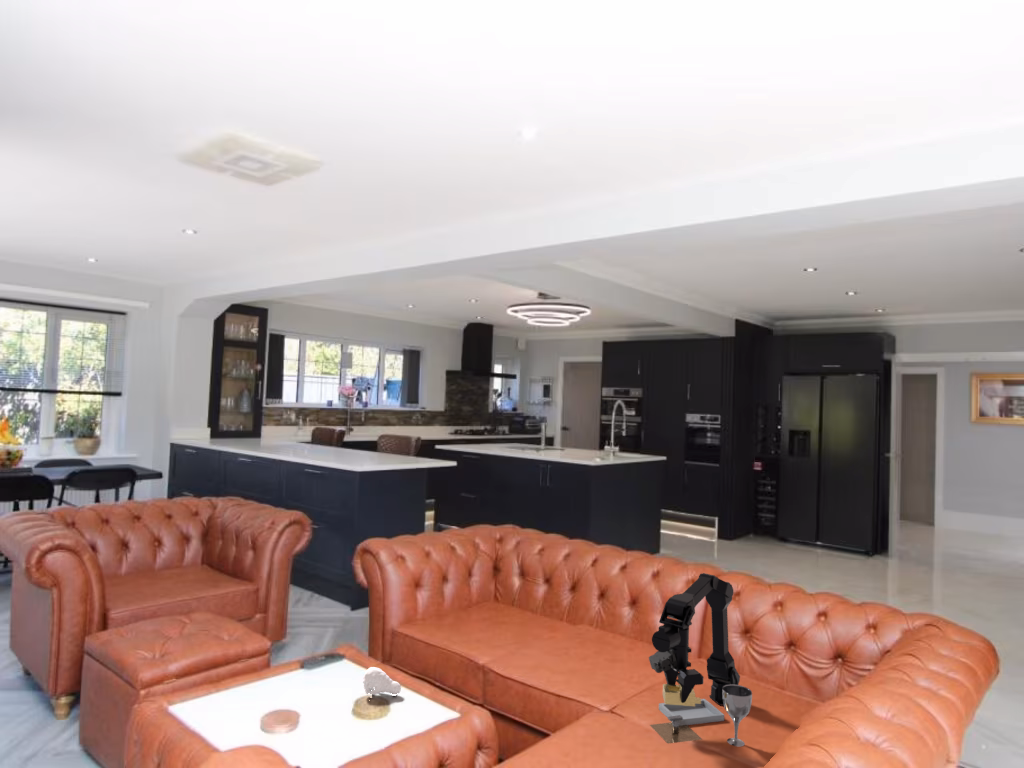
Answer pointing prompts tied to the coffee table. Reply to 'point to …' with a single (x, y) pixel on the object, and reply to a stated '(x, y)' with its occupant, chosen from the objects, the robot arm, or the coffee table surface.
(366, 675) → the grey lumpy shape
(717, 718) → the tray
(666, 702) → the gold hollow rectangular block
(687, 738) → the brown peg base plate
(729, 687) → the wine glass
